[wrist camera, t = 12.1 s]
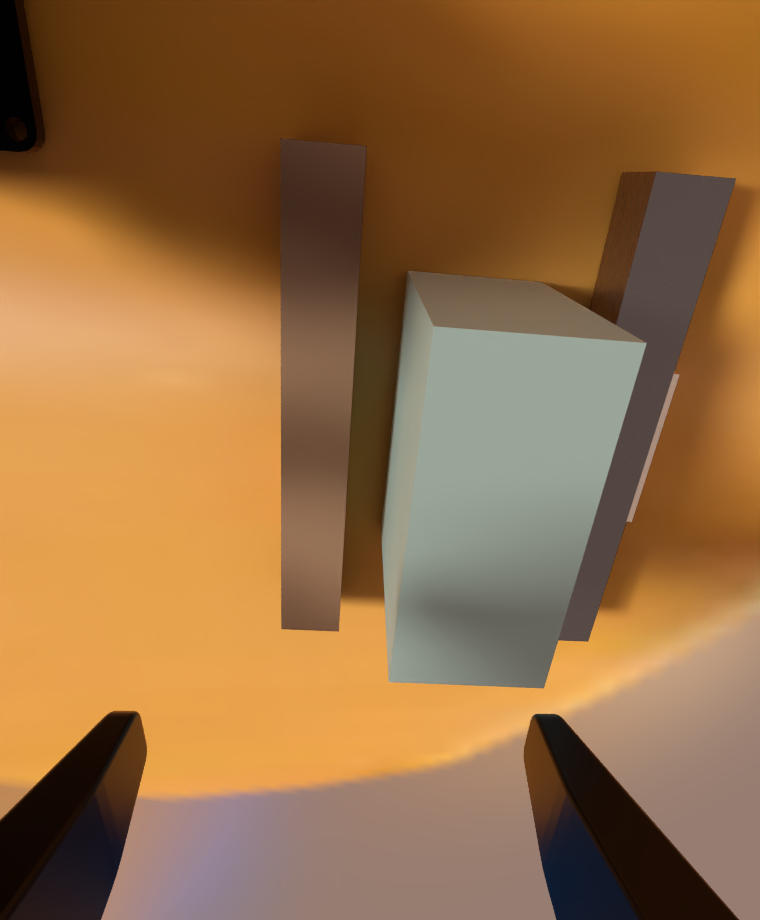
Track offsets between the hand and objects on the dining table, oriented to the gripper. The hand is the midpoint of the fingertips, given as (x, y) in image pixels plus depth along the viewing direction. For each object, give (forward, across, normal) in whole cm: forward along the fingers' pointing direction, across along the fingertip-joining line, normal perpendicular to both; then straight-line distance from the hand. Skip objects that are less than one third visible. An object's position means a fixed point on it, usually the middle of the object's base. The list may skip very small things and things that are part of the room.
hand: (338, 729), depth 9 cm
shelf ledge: (+11, +1, -1) cm, 11 cm away
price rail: (+11, -8, -1) cm, 14 cm away
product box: (+11, -3, -1) cm, 12 cm away
